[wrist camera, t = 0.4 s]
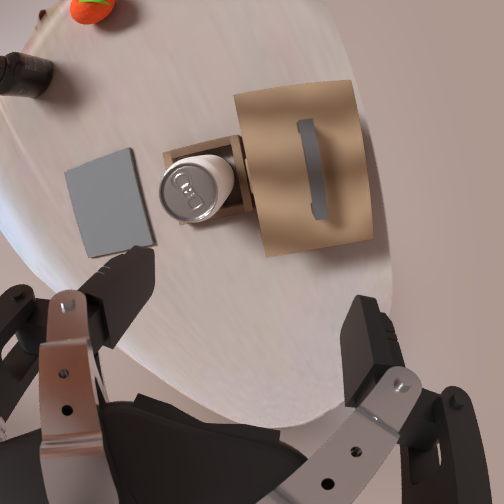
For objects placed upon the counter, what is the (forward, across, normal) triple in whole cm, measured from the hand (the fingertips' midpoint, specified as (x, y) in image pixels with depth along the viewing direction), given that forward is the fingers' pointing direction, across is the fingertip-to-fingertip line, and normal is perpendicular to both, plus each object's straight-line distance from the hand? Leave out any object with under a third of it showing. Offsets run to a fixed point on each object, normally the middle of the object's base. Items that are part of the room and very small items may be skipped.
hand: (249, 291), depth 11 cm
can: (+27, +9, +4) cm, 29 cm away
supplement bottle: (+26, +42, -11) cm, 50 cm away
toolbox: (+28, +3, +1) cm, 28 cm away
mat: (+25, +24, +9) cm, 36 cm away
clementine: (+29, +31, -21) cm, 47 cm away
